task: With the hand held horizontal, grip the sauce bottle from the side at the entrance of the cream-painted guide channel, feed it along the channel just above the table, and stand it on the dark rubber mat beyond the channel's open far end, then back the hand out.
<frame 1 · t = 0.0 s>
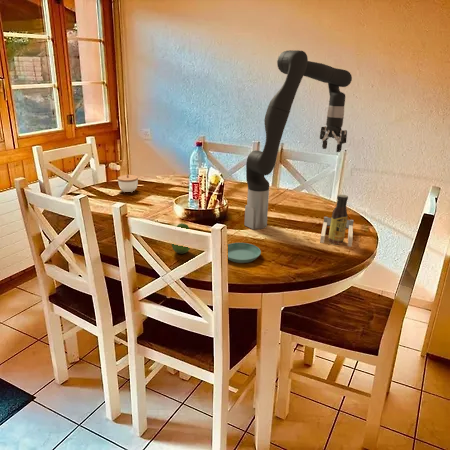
hand: (331, 150, 201), 29 cm above the table, tool pointing down, fingers open, 8 cm apart
channel: (336, 236, 178), on the table
avocado: (181, 252, 160), on the table
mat: (337, 223, 192), on the table
sauce bottle: (335, 242, 172), on the table
saucer: (240, 257, 158), on the table
lidded jar: (128, 191, 231), on the table
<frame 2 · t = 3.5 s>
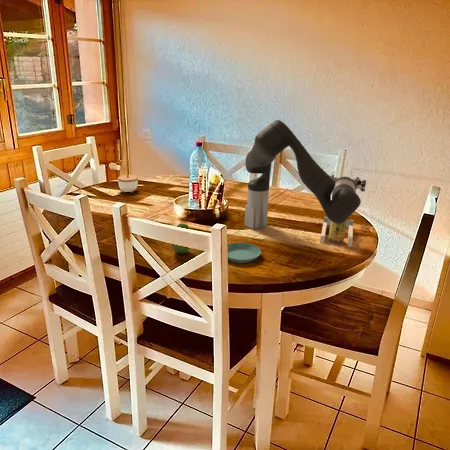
hand: (344, 178, 151), 30 cm above the table, tool horizontal, fingers open, 8 cm apart
nothing on the table moved.
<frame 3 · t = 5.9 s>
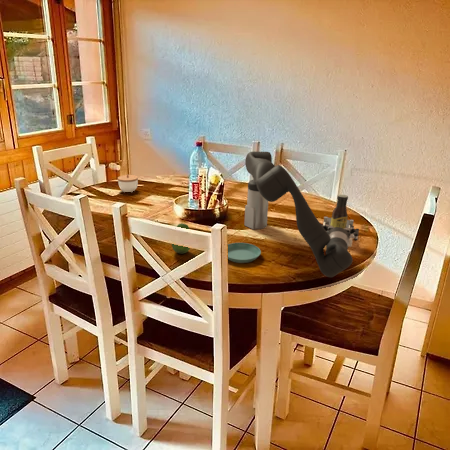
hand: (339, 225, 160), 11 cm above the table, tool horizontal, fingers open, 8 cm apart
nothing on the table moved.
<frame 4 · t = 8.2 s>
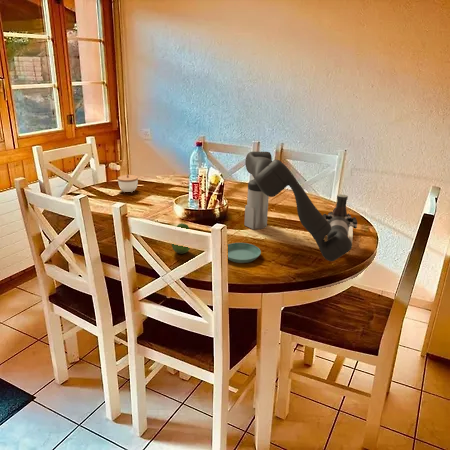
hand: (339, 214, 170), 11 cm above the table, tool horizontal, fingers closed on sauce bottle, 6 cm apart
sauce bottle: (335, 242, 172), on the table, touching gripper
everything else where it was.
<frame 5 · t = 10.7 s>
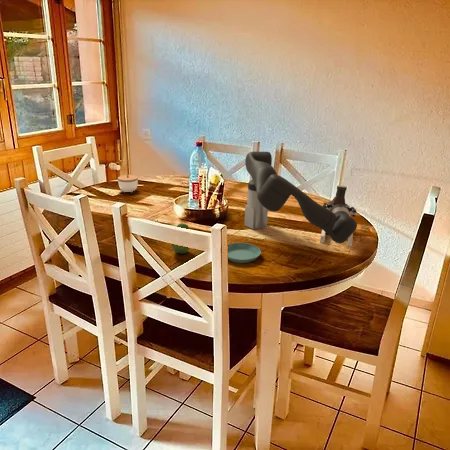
hand: (337, 204, 181), 11 cm above the table, tool horizontal, fingers closed on sauce bottle, 6 cm apart
sauce bottle: (333, 231, 183), touching gripper
everything else where it was.
when the fingers open (12 cm above the table, at t = 13.3 s): sauce bottle stays where it is, resting on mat.
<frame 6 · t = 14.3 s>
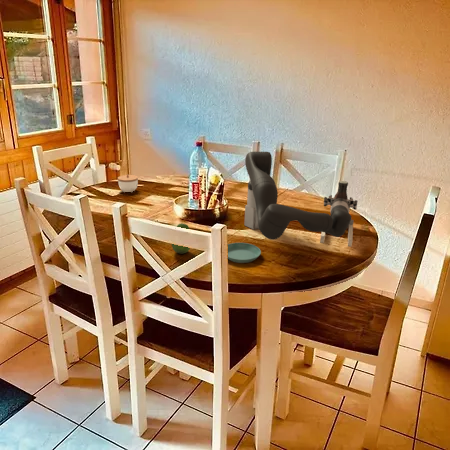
hand: (340, 198, 189), 12 cm above the table, tool horizontal, fingers open, 8 cm apart
sauce bottle: (337, 224, 190), resting on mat
everything else where it was.
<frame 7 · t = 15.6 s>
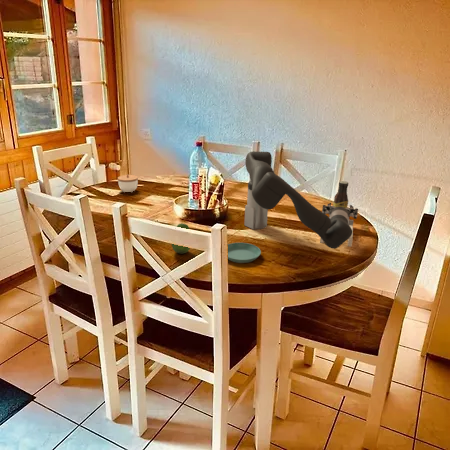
hand: (340, 206, 178), 12 cm above the table, tool horizontal, fingers open, 8 cm apart
nothing on the table moved.
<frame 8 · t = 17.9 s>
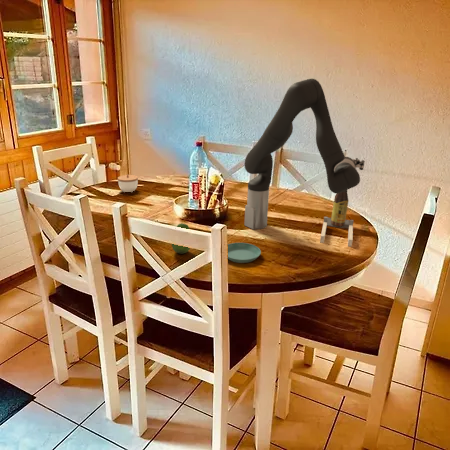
hand: (345, 159, 170), 32 cm above the table, tool horizontal, fingers open, 8 cm apart
nothing on the table moved.
at the end: sauce bottle inside the target area (2.9 cm from its centre), resting on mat; sauce bottle tilted 0°; the gripper is holding nothing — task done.
